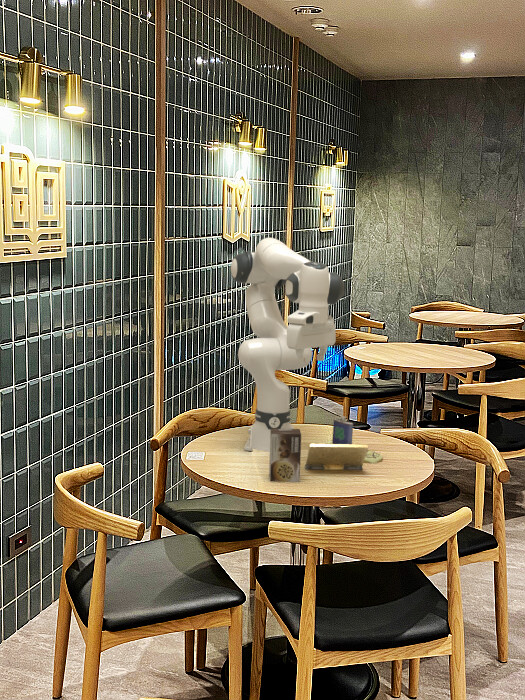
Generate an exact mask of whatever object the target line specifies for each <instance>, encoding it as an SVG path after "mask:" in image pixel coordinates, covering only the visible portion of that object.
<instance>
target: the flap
mask: <svg viewBox="0 0 525 700" xmlns="http://www.w3.org/2000/svg"><path fill="white" fill-rule="evenodd" d="M368 449H369V445H368V444H353V443H352V444H332V443H331V444H330V443H309V445H308V450H307V454H306V459H305V464H306V465H324V470H325V471H330V470H331V471H332V470H333V471H345V470H344V467H343V466H362V467H363V466H364V465H363V464H364V463H363V462H364V459H365V456H366V453H367V450H368Z"/></svg>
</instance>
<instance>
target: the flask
mask: <svg viewBox="0 0 525 700" xmlns="http://www.w3.org/2000/svg"><path fill="white" fill-rule="evenodd" d="M346 418H347V417H346V416H343V415H341V416H340V417H339V418H334V419H333V426H332V427H333V429H332V430H333V431H332V440H331V441H332V442H331V444H352V445H353V433H354V431H353V429H354V423H353V422H349V421H346Z"/></svg>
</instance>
